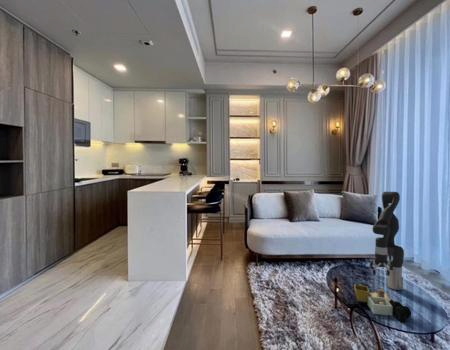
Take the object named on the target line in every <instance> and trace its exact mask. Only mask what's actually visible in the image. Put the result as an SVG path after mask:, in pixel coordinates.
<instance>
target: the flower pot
mask: <svg viewBox="0 0 450 350" xmlns="http://www.w3.org/2000/svg"><path fill="white" fill-rule="evenodd" d="M353 286H354V293H355V297H356V300H357V301H358V302H362V303H368V296H370V294H369V292H370V289H369V286H367V285H359V284H353ZM370 293H371V292H370Z"/></svg>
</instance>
